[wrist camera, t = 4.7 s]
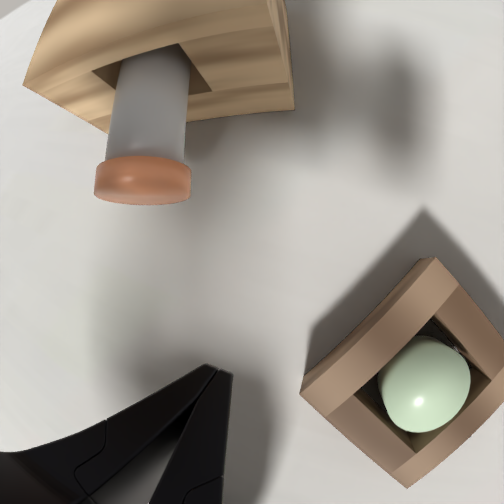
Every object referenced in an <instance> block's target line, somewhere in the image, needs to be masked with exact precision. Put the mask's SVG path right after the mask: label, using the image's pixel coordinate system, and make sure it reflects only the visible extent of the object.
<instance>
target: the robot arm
mask: <svg viewBox="0 0 504 504" xmlns="http://www.w3.org/2000/svg"><path fill="white" fill-rule="evenodd" d="M232 382H233V374H232V373H231V372H228V371H226V370H223V369H218V368H217V367H215V366H212V365H210V364H203V365H201V366H200V367H198V368H196V369H195V370H193V371H191V372H190V373H188V374H186V375H184V376H183V377H181V378H179V379H178V380H176V381H174V382H172V383H171V384H169V385H167V386H165V387H164V388H162V389H160V390H158V391H157V392H155V393H153V394H151V395H150V396H148V397H146V398H144V399H142V400H141V401H139V402H137V403H135V404H133V405H131V406H130V407H128V408H126V409H124V410H122V411H120V412H118V413H117V414H115V415H113V416H111V417H109V418H107V421H106V420H103V421H101V422H99V423H97V424H95V425H93V426H91V427H89V428H87V429H85V430H83V431H80V432H78V433H75V434H73V435H70V436H68V437H65V438H62V439H59V440H56V441H53V442H50V443H47V444H44V445H41V446H38V447H34V448H31V449H28V450H24V451H18V452H0V504H148V502H149V501H150V502H149V504H223V486H224V472H225V461H226V449H227V438H228V426H229V415H230V404H231V393H232Z"/></svg>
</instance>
